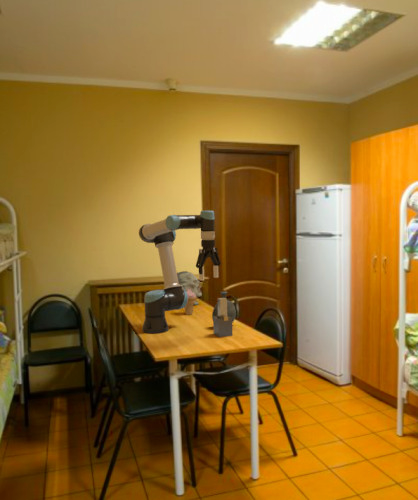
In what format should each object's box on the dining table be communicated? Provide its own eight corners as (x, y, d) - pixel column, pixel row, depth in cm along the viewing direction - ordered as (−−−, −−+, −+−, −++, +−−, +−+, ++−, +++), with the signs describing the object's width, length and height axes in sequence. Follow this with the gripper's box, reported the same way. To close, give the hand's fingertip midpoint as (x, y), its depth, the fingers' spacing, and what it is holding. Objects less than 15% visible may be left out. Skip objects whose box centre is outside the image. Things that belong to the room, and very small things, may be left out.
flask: (207, 328, 267) (206, 291, 266) (232, 324, 274) (231, 289, 273) (216, 332, 257) (215, 294, 255) (241, 328, 264) (241, 291, 263)
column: (220, 335, 243) (220, 299, 242) (218, 334, 247) (217, 298, 246) (227, 335, 245) (227, 298, 243) (225, 333, 248) (224, 297, 247)
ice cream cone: (179, 315, 305) (178, 286, 304) (183, 312, 316) (183, 284, 315) (194, 316, 303) (193, 286, 302) (198, 312, 313) (198, 284, 312)
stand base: (214, 341, 236) (213, 319, 235) (204, 334, 251) (204, 313, 250) (242, 338, 241) (241, 316, 240) (230, 332, 256) (230, 311, 255)
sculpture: (203, 305, 336) (195, 266, 334) (172, 312, 337) (163, 273, 335) (205, 300, 355) (197, 264, 354) (175, 307, 357) (166, 270, 355)
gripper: (200, 240, 227) (201, 281, 228) (226, 238, 248) (227, 276, 249) (188, 240, 231) (189, 281, 233) (215, 238, 252) (216, 276, 253)
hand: (209, 279), depth 241 cm, fingers open, 13 cm apart
